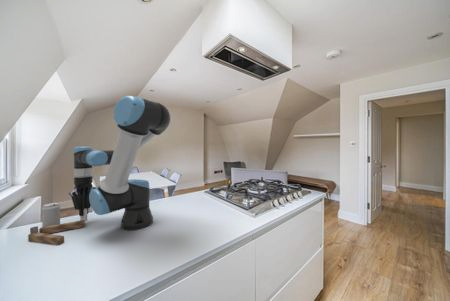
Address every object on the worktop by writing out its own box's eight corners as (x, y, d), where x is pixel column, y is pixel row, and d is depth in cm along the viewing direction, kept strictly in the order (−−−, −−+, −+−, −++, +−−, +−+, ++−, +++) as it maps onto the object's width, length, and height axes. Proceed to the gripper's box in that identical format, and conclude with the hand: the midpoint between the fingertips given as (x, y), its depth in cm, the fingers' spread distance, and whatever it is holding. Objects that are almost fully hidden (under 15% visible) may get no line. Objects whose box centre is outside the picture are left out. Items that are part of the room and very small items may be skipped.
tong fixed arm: (69, 240, 78) (69, 230, 78) (58, 245, 74) (58, 234, 73) (35, 235, 81) (35, 226, 81) (23, 240, 77) (23, 230, 77)
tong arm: (84, 225, 92) (84, 219, 92) (84, 226, 90) (84, 221, 90) (40, 233, 83) (40, 227, 83) (39, 235, 81) (39, 229, 81)
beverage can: (49, 232, 85) (48, 206, 85) (38, 230, 86) (38, 205, 86) (63, 226, 91) (63, 202, 91) (53, 225, 93) (53, 201, 92)
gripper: (89, 174, 101) (89, 216, 101) (64, 178, 88) (64, 225, 88) (100, 174, 99) (100, 217, 100) (76, 178, 87) (77, 227, 87)
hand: (83, 221), depth 94 cm, fingers closed
